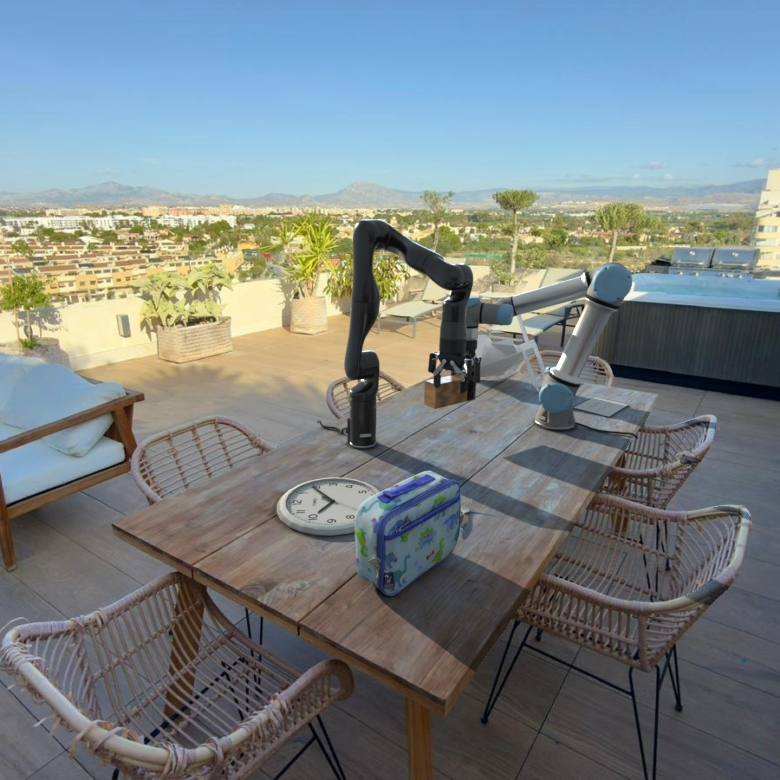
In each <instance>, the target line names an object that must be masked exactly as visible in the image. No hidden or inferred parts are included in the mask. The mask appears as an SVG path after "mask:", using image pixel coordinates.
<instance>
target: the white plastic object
mask: <svg viewBox="0 0 780 780" xmlns="http://www.w3.org/2000/svg"><path fill="white" fill-rule="evenodd" d="M522 317H523V316H522V314H520V315H517V316H516V319H517V322H518V325H519V328H520V332H521V334H522V337H523V340H524V342H523V343H520V344H515V343H514V340H513V339H512V338H507V339H503V340H499V341H492V339H491V338H490V337H489V336H488V335H487V334H478V338H476V339H477V340H478V341H477V349H476V350H475V353H476V356H477V357H481V358H482V359H481V363H480V378H487V377H495V378H499V377H501V376H504V375H505V373H506V372H507V371H508V370H510V369H511V368H512V367H514V366H515V365H517V364H518V363H520V362H521V361H522V360H523V359H524V363H525V366H526V369H527V372H528V375H529V378H530V381H531V384H532V386H533V387H534V389H535V390H536V392H539V391H540V388H539V385H538V382H537V378H536V376H535V372H534V370H533V367H532V363H531V359H530V357H529V356H531V355H534V354H535V357H536V360H537V363H538V366H539V369H540V372H541V374H542V378H543V379H544V372H545V368H546V367H545V364H544V361H543V358H542V356H541V352H540V349H539V347H538V343H537V342H536V340H535V339H529V335H528V332H527V330H526V327H525V324H524V321H523V318H522ZM464 368H465V369H466V373H467V366H466V364H464Z"/></svg>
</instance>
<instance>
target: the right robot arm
mask: <svg viewBox="0 0 780 780" xmlns="http://www.w3.org/2000/svg"><path fill="white" fill-rule="evenodd" d="M632 287H633V277H632V274H631V272H630V270H629V268H627V267H626V266H625V265H623V264H621V263H619V262H607V263H604V264H602V265H600V266H598V267H595V268H593V269H590V270H586V271H584V272H583V273H582V274H581V275H580V276H576V277H574V278H570V279H566V280H563V281H559V282H557V283H553V284H549V285H546V286H543V287H539V288H535V289H532V290H529V291H525V292H521V293H519V294H515V295H512V296H509V297H502V298H499V299H497V300H496V301H495V302H494V303H492V302H491V303H490V302H489V303H488V302H481V297H479V296H475V295H470V298H469V301H468V304H467V317H466V326H467V332H466V333H467V336H466V348H465V359H474V360H475V378H474V379H472V380H470V383H468V393H467V400H468V401H467V402H470V401H469V400H471V401H474V400H473V399H474V392H475V385H476V386H477V384H479V383H481V377H480V363H481V359H482V358H481V357H477V356H476V353H475V350H476V349H477V341H478V340H477V339H478V335H479V326H480V325H479V324H481V325H482V324H483V325H493V326H500V327H501V326H511V325H512V323H513V320H514V317H517V315H520V314H521V315H523V314H527V313H531V312H534V311H539V310H541V309H542V310H543V309H547V308H549V307H553V306H556V305H561V304H564V303H567V302H571V301H575V300H579V299H583V298H584V301H585V306H584V308H583V310H582V312H581V314H580V316H579V318H578V320H577V322H576V324H575V326H574V328H573V330H572V333H571V334H570V337H569V339H568V341H567V343H566V345H565V347H564V350H563V351H562V353H561V356H560V357H559V360H558V362H557V364H556V365H552V366H551V365H549V366H546V367H545V372H544V378H543V381H542V385H541V387H540V388H539V390H538V401H539V404H540V405H539V407H538V410H537V411H536V413H535V417H534V424H535V425H536V426H537V427H539V428H542V429H544V430H549V431H556V432H567V431H572V430H574V429H575V428H576V425H577V426H580V427H583V428H586V429H589V430H592V431H595V432H600V433H605V434H616V435H617V434H618V435H629V436H632V437H634V438H635V439H639V437H638V435H636V433H633V432H629V431H627V432H626V431H617V430H606V429H604V430H603V429H599V428H596V427H595V428H594V427H591V426H588V425H586V424H583V423H580V422H577V421H576V418H575V417H576V416H575V413H574V407H573V405H574V401H575V400H574V399H575V396H576V394H577V393H578V391H579V388H580V387H581V384H582V379H581V375H582V373H583V371H584V369H585V367H586V364H587V363H588V360H589V359H590V356H591V355H592V353H593V350H594V348H595V347H596V344H597V343H598V340H599V338H600V336H601V335H602V333H603V331H604V329H605V327H606V324H607V323H608V321H609V319H610V317H611V315H612V314H613V313H616V312H619V310H620V307H621V305H622V303H623V301H624V299H625V298H626V297H627V295H628V294H630V292H631V289H632ZM464 364H465V363H464ZM464 364H463V366H464ZM459 370H460V369H459ZM460 371H461V370H460ZM456 374H457V373H456V372H452V371H450V376H451V375H456Z"/></svg>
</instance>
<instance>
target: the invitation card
mask: <svg viewBox="0 0 780 780" xmlns="http://www.w3.org/2000/svg"><path fill="white" fill-rule="evenodd" d="M628 406H629V404H627V403H623V402H618V401H614V400H609V399H605V398H601V397H596V396H593V397H592V398H590V399H588V400H586V401H584V402H582V403H580V404H578V405H575V406H574V407H573V409H575V410H581V411H584V412H587V413H593V414H596V415H600V416H604V417H608V418H609V417H611V416H613V415H614V414H616V413H617V412H619V411H621V410H623V409H624V408H626V407H628Z"/></svg>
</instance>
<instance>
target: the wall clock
mask: <svg viewBox="0 0 780 780" xmlns="http://www.w3.org/2000/svg"><path fill="white" fill-rule="evenodd" d="M381 491H382V490H380V489H379V488H377V487H376V486H374V485H372V484H371V483H369V482H365V481H362V480H359V479H355V478H349V477H338V476H337V477H335V476H333V477H332V476H331V477H322V478H317V479H312V480H307V481H305V482H302V483H299V484H297V485H295V486H293V487H292V488H290V489H288V490H287V491H286V492H285V493H284V494H283V495H281V496H280V498H279V499H278V502H277V503H276V515H277V517H278V518H279V520H280V521H281V522H282V523H283V524H285V525H286V526H287V527H288V528H290V529H293V530H295V531H297V532H299V533H303V534H308V535H312V536H327V537H328V536H329V537H331V536H332V537H333V536H342V535H350V534H352V533H355V516H356V513H357V510H358V508H359V506H360V505H361V504H362V502H363V501H364V500H366V499H367V498H369V497H371V496H373V495H375V494H377V493H379V492H381Z"/></svg>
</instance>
